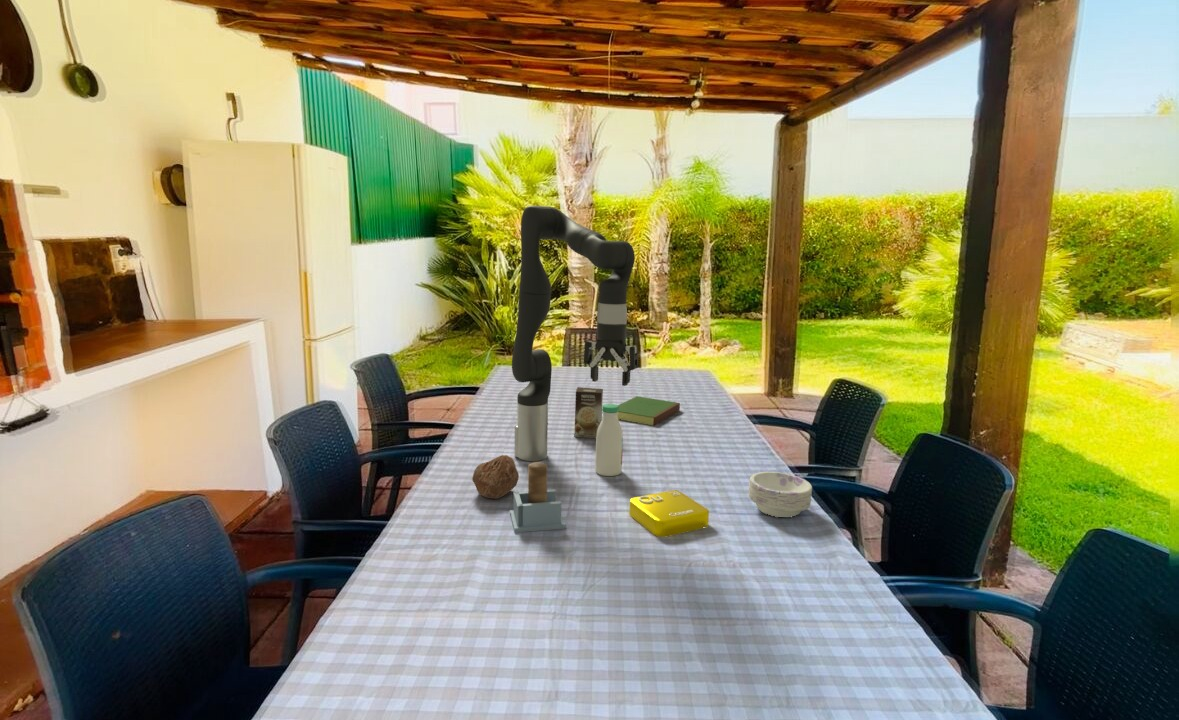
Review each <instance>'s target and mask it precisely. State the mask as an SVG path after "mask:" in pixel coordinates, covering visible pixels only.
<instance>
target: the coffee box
mask: <svg viewBox="0 0 1179 720" xmlns="http://www.w3.org/2000/svg"><path fill="white" fill-rule="evenodd" d="M603 396H604V388H595V387H594V388H593V387H582V386H581V387H580V386H578V387H577V388H576V389H575V404H574V405H575V407H574V408H575V410H574V413H575V414H574V431H573V437H575V438H589V439H596V436H597V430H598V427H599V425H600V423H601V421H602V418H603V413H602V412H603V410H602V408H603V399H604V397H603Z"/></svg>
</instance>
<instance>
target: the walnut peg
mask: <svg viewBox="0 0 1179 720" xmlns="http://www.w3.org/2000/svg"><path fill="white" fill-rule="evenodd" d="M527 471H528V473H527V474H528V475H527V480H528V482H527V483H528V484H527V485H528V488H527V491H528V504H529V503H543V502H547V490H548V465H547V464H546V463H544V462H540V461H539V462H538V461H535V462H532V463H530V464H528V465H527Z"/></svg>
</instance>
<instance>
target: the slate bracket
mask: <svg viewBox="0 0 1179 720" xmlns="http://www.w3.org/2000/svg"><path fill="white" fill-rule="evenodd" d="M509 515H510V520H511V524H512V528H513V531H514V532H513V533H515V532H516V533H525V532H538V531H547V530H548V531H550V530H562V529H564V530H565V529H566V528H567V524H566V521H565V520H564V517H563V515H562V501H560V500H557V490H556V489H547V502H543V503H529V504H528V490H527V491H526V490H524V491H513V509H512V510H511V509H510V510H509Z"/></svg>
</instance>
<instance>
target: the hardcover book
mask: <svg viewBox="0 0 1179 720" xmlns="http://www.w3.org/2000/svg"><path fill="white" fill-rule="evenodd" d="M618 407H619V410H618V420H620V419H621V421H625V420H627V421H626V422H631V421H632V422H633V423H636V422H637V423H638V424H642V425H643V424H644V425H647V424H648V425H649V426H653V427H655V426H657V425H659V424H660V423H662V422H664V421H665V420H668V418H670V417H671V416H674V415H675V414H677V413H679V412H680V411H681V410H680V407H681V403H680V402H675V401H670V400H665V399H656V398H650V397H643V396H638V395H636V396H635V397H632V398H631V399H628V400H626V401H624V402H622V403H620V404H618ZM678 411H679V412H678ZM673 414H674V415H673ZM632 422H631V423H632Z"/></svg>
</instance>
